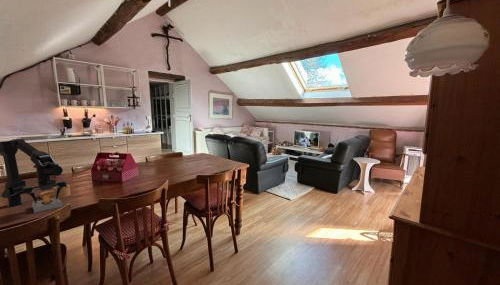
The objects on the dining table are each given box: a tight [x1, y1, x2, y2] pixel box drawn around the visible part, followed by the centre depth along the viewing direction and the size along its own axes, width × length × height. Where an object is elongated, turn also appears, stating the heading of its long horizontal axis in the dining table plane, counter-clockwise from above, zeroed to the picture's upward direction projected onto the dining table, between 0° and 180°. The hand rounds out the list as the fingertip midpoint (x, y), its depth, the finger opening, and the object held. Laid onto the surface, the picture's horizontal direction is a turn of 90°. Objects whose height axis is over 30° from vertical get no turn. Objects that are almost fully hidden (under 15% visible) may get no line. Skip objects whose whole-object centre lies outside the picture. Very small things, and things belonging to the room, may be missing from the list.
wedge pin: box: [42, 193, 51, 204], centre depth 132 cm, size 4×4×8 cm
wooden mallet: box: [39, 184, 71, 199], centre depth 150 cm, size 18×8×7 cm, turn 88°
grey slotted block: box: [32, 197, 63, 214], centre depth 132 cm, size 12×12×4 cm
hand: (46, 200), depth 132 cm, fingers open, 9 cm apart
